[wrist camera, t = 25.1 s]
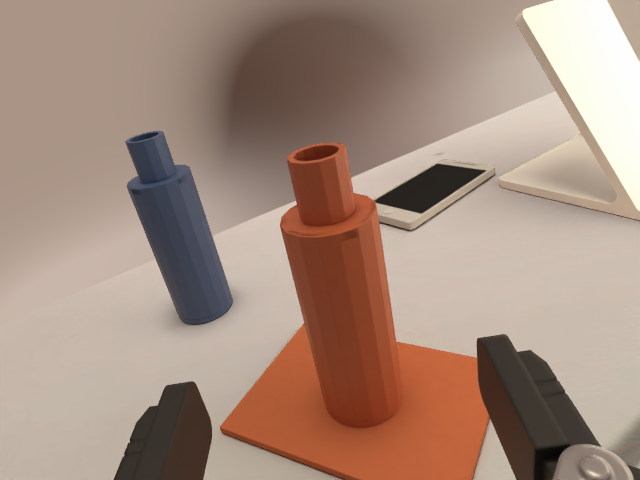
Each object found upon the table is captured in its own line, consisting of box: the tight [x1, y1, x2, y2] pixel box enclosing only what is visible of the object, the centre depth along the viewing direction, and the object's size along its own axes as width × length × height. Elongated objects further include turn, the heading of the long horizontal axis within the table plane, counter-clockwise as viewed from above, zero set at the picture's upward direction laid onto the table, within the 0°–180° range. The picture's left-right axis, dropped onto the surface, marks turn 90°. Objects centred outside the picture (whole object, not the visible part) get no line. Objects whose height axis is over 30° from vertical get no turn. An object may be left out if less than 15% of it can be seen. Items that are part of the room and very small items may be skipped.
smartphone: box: [374, 159, 495, 230], centre depth 52 cm, size 7×15×1 cm, turn 132°
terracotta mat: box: [220, 323, 490, 480], centre depth 28 cm, size 10×14×1 cm
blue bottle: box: [126, 131, 233, 324], centre depth 37 cm, size 5×5×15 cm
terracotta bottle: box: [280, 143, 403, 428], centre depth 24 cm, size 5×5×15 cm
